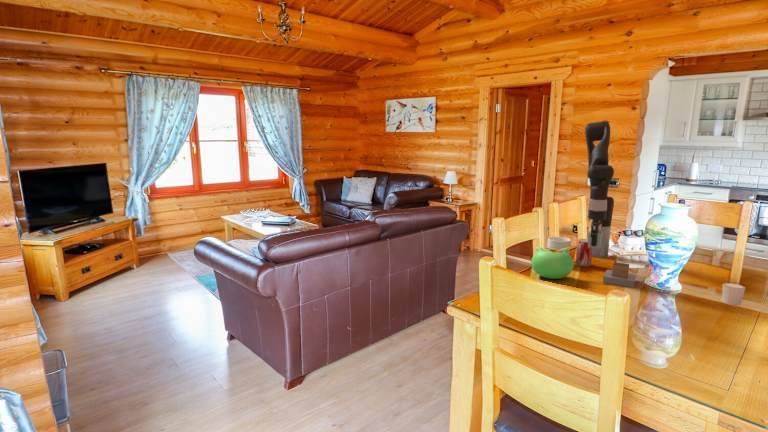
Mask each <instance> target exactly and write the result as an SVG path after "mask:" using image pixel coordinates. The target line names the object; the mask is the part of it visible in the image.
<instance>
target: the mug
mask: <svg viewBox="0 0 768 432" xmlns="http://www.w3.org/2000/svg"><path fill="white" fill-rule="evenodd" d="M571 244H572V239H571V238H568V237H563V236H550V237H549V236H548V239H547V245H546V246H547V247H546V248H553V249H563V248H567V247H572V246H571ZM570 253H571V250H569V251H568V252H567V254H569V255H570Z"/></svg>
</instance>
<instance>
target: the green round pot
mask: <svg viewBox="0 0 768 432" xmlns="http://www.w3.org/2000/svg"><path fill="white" fill-rule="evenodd" d="M572 249H573V247H572V246H570V247H567V248H563V249H553V248H547V247H546V248H542V247H540V246H536V252H535V253H534V254H533V256H532V258H531V262H530V263H531V267H532V270H533V271H534V272H535V273H536V274H537V275H538V276H541V277H543V278H546V279H552V280H558V279H559V280H560V279H565V278H566V277H568V276H569V275H570V274H571V273H572V272H573V269H574V261H573V258H572V256H571V255H570V254H567V252H568V251H569V250H570V251H571V250H572Z"/></svg>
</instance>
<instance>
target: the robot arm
mask: <svg viewBox="0 0 768 432" xmlns="http://www.w3.org/2000/svg"><path fill="white" fill-rule="evenodd" d="M584 128H585V129H584V130H585V131H584V133H585V141H586V149H587V156H588V158H587V159H588V160H587V161H588V163H587V164H588V170H587V174H586V175H587V178H588V179H589V189H590V193H589V200H588V201H589V203H588V208H587V209H588V211H587V218H588V219H589V220H592V222H591V223H590V231H591V238H592V240H591V246H596V245H597V238H598V233H599V232H600V231H601V232H602V242H601V247H600V249H599V248H592V258H593V257H594V258H598V259H599V258H608V257H609V249H610V237H611V229H612V228H611V227H612V221H613V213H614V212H613V211H614V207H615V206H614V205H615V200H614V198H613V196H608V192H609V187H610V184H611V182H612V179H613V177H614V175H615V174H614V173H615V169H614V167H613V166H611V165H609V162H610V161H609V147H610V142H611V141H610V140H611V126H610V122H609V121H607V120H606V121H605V120H604V121H597V122H590V123H587V124H586V125H585V127H584ZM595 142H598V143H597V144H596V145H595ZM593 233H595V234H596V235H593Z"/></svg>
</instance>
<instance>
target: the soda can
mask: <svg viewBox="0 0 768 432" xmlns="http://www.w3.org/2000/svg"><path fill="white" fill-rule="evenodd" d="M576 245H577V246H576V255H575V257H576V258H575V264H576V265H577V266H580V267H583V268H584V267H586V268H587V267H590V266H591V265H592V258H593V256H592V248H591V247H588V239H587V238H586V239H585V238H579V239H578V242H577V244H576Z"/></svg>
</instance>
